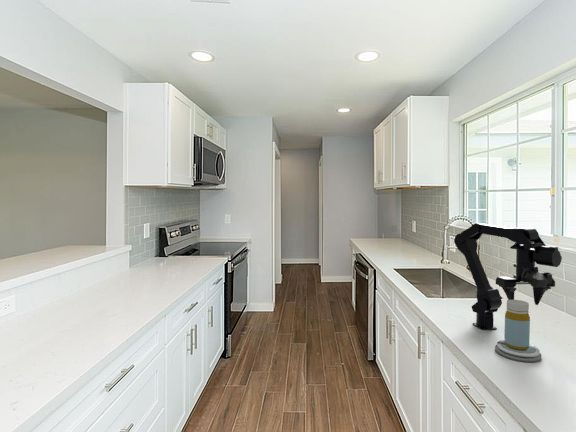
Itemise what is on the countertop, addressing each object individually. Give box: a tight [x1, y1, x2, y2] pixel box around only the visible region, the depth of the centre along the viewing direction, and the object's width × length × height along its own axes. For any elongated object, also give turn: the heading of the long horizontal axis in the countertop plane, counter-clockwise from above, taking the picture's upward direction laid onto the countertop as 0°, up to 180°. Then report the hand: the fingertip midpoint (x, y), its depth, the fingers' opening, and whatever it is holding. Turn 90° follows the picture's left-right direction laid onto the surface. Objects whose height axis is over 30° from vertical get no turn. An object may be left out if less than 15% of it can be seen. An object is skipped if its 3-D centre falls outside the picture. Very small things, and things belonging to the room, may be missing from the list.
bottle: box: [503, 299, 531, 350], centre depth 120 cm, size 7×7×15 cm
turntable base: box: [494, 344, 542, 364], centre depth 120 cm, size 13×13×7 cm
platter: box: [496, 339, 541, 358], centre depth 120 cm, size 12×12×1 cm
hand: (524, 305), depth 131 cm, fingers open, 9 cm apart
